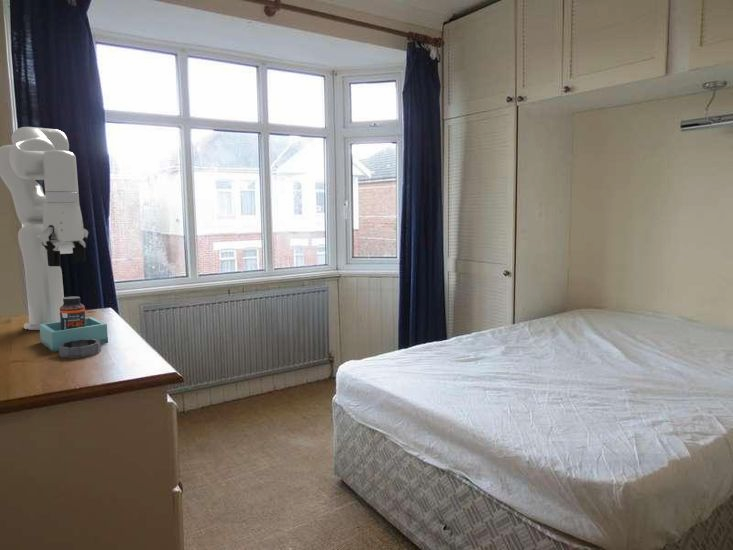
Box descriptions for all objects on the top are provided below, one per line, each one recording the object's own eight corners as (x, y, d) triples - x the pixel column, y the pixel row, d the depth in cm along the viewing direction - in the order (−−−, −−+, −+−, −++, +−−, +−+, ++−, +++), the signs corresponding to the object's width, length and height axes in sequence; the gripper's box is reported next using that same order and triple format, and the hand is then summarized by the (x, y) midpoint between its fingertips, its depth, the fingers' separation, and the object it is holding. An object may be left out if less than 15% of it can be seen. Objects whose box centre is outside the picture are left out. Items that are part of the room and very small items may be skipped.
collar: (55, 353, 127) (55, 343, 127) (94, 346, 133) (93, 337, 133) (65, 360, 121) (64, 350, 120) (105, 353, 127) (104, 343, 127)
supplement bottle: (68, 342, 134) (64, 300, 132) (57, 339, 137) (54, 297, 135) (91, 337, 138) (88, 296, 137) (80, 334, 142) (77, 294, 140)
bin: (40, 342, 138) (39, 324, 137) (93, 334, 147) (91, 317, 146) (53, 351, 128) (51, 332, 128) (108, 342, 137) (106, 324, 137)
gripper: (71, 199, 142) (75, 260, 144) (24, 198, 124) (30, 267, 127) (96, 199, 141) (100, 260, 143) (52, 198, 124) (58, 268, 126)
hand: (67, 263), depth 135 cm, fingers open, 9 cm apart
